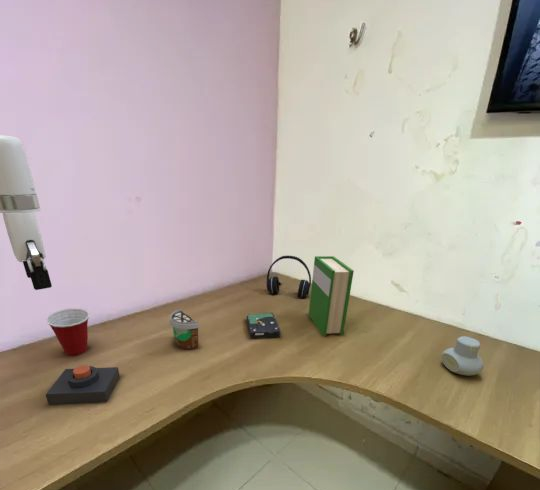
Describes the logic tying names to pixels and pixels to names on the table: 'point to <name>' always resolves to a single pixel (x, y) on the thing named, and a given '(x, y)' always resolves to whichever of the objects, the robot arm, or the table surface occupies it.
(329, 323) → the hardback book
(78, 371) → the push button
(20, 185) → the robot arm
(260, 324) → the disk drive
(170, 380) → the table surface
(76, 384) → the button base
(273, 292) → the headphones
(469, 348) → the air freshener
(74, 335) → the plastic cup
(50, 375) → the table surface
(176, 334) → the food container
